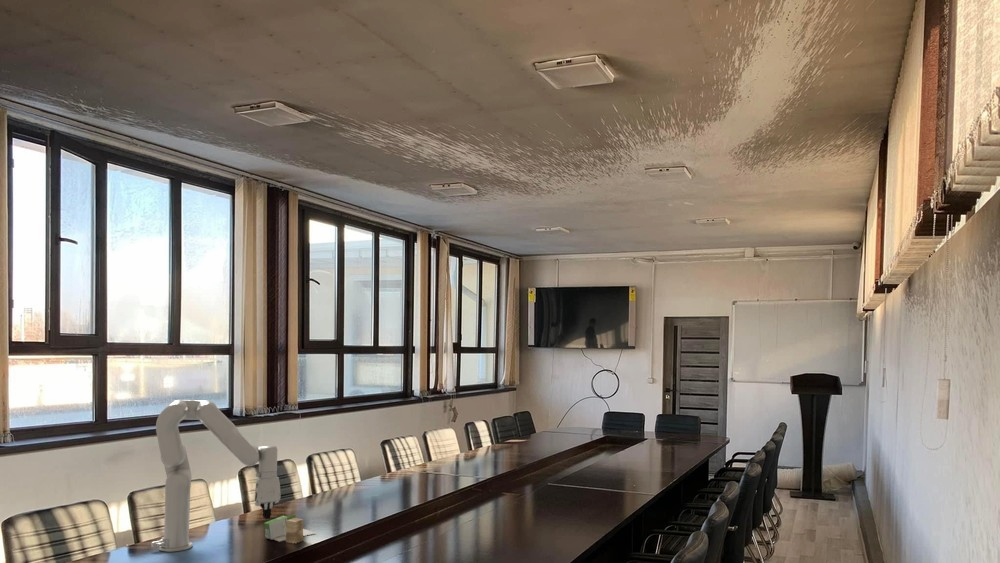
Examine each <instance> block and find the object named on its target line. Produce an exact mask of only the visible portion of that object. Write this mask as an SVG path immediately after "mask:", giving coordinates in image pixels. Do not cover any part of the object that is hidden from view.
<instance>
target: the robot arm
mask: <svg viewBox="0 0 1000 563" xmlns="http://www.w3.org/2000/svg"><path fill="white" fill-rule="evenodd" d="M183 420H189V421H190V420H191V421H193V420H195V421H196V420H197V421H200V422H201V423H202V424H203V425H204V426H205V427H206V428H207V429H208V430H209V431H210V432H211V433H212V434H213V435H214V437H216V438H217V440H218V441H220V443H222V445H224V446H225V448H227V449H228V451H229V452H230V453H231V454H232V455H233V456H235V457H236V459H237V460H238V461H240V463H242V464H243V465H244V466H246V467H252V466H255V465H257V463H258V473H256V474H255V476H256V478H257V479H256V484H255V488H254V501H255V502H254V506H256V507H260V508H261V509H262V517H263V519H266V520H268V519H269V520H271V516H272V509H273V507H274V505H275V504H277V503H279V502H280V500H281V493H282V492H281V483H280V477H279V476H278V448H277V446H276V445H272V444H270V445H267V444H266V445H253V444H251V443H250V442H249V441H247V439H245V437H244V436H243V435H242V433H241V432H240V430H239V429H238V428H237V426H236V425H235V424H234V423H233V422H232V421H231V419H229V418H228V417H227V416H226V415H225V414H224V413H223V412H222V411H221V410H220V409H219V408H218V406H217V405H216V403H215V402H213V401H211V400H199V399H198V400H196V399H195V400H194V399H175V400H173V401H171V402H170V403H169V404H168V405H167V406H166V407H165V408H164V409H163V410H162V411H160V413H159V415H158V417H157V419H156V421H155V422H156V423H155V433H156V437H157V442H158V443H157V444H158V449H159V452H160V453H159V454H160V460H161V462H162V464H163V466H164V470H165V474H166V475H165V476H166V478H165V479H166V480H165V486H164V495H165V496H164V497H165V498H164V520H163V521H164V526H163V536H162V537H160V538H161V539H159V540H155V541H151V543H150V546H151V548H154V547H157V548H158V549H159V551H161V552H167V553H169V552H181V551H185V550H189V549H191V548H192V547H193V542H192V541H189V540H190V538H189V537H190V516H191V514H190V511H191V487H192V485H191V484H192V471H191V467H190V463H189V458H188V457H189V456H188V451H187V450H186V447H185V445H184V444H182V439H181V435H180V434H181V433H180V429H179V425H180V423H181V422H183Z"/></svg>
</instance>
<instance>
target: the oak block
mask: <svg viewBox="0 0 1000 563" xmlns="http://www.w3.org/2000/svg"><path fill="white" fill-rule="evenodd" d="M303 529H304V519H302V518H297V517H295V518H293V519H290V520H286V540H285V542H286V543H289V544H294V543H295V544H298V543H300V541H301V542H304V537H303ZM297 542H298V543H297Z"/></svg>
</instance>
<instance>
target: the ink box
mask: <svg viewBox="0 0 1000 563" xmlns="http://www.w3.org/2000/svg"><path fill="white" fill-rule="evenodd" d="M293 518H296V514H292V515H290V516H286V515H281V516H279V517H275V518H274V519H269V520H267V521H265V522H264V523H263V524H264V531H265V535H266V537H265V538H266V539H269V540H273V539H274V538H276V537H279V536H281V535H283V534H286V520H290V519H293Z"/></svg>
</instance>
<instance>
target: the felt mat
mask: <svg viewBox="0 0 1000 563" xmlns="http://www.w3.org/2000/svg"><path fill="white" fill-rule="evenodd" d="M315 533H316V532H314V531H311V530H308V529H306V528H303V536H304V537H308V536H307V535H309V536H312V535H311V534H314V535H316V534H315ZM264 537H265V538H266V534H265V535H264ZM272 540H274V541H277V542H278V543H280V542H284V541H285V542H286V534H283V535H281V536H279V537H276V538H274V539H272Z"/></svg>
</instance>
